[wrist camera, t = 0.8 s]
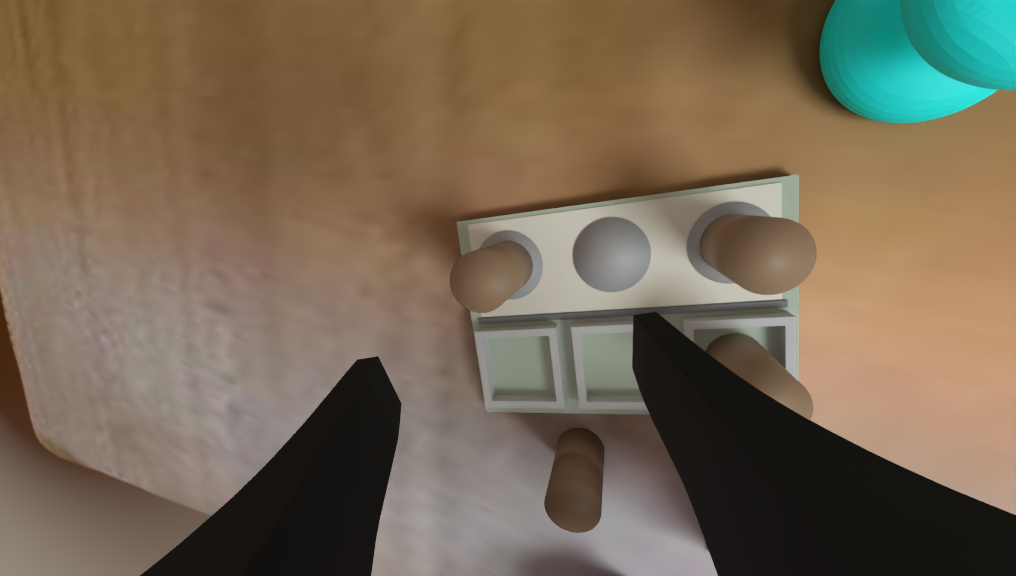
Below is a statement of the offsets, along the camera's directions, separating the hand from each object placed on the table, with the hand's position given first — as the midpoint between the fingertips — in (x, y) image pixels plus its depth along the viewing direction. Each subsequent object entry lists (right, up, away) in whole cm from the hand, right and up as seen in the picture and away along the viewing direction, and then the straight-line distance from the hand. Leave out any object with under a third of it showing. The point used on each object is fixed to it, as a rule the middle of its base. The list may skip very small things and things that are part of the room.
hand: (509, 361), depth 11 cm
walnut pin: (+6, -12, +23) cm, 27 cm away
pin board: (+9, 0, +20) cm, 21 cm away
